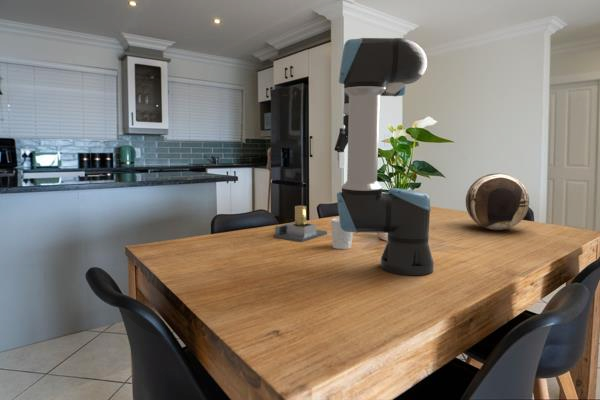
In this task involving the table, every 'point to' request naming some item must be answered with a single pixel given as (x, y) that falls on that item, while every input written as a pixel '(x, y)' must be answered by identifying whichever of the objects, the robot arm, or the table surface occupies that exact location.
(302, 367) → the table surface
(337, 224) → the white cup
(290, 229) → the jig
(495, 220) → the sphere
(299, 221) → the bushing
